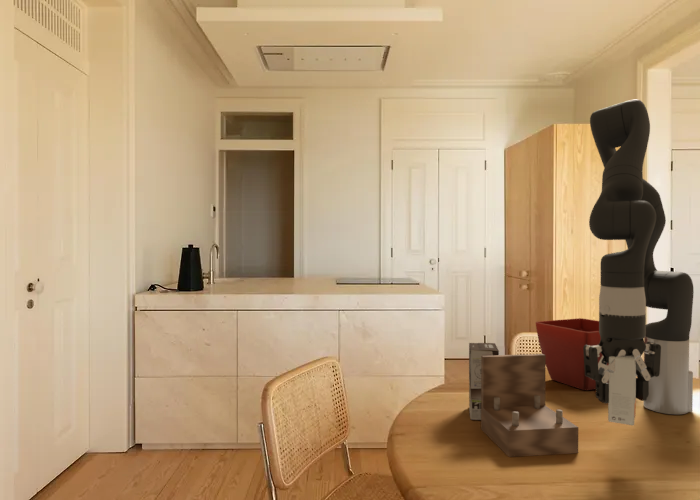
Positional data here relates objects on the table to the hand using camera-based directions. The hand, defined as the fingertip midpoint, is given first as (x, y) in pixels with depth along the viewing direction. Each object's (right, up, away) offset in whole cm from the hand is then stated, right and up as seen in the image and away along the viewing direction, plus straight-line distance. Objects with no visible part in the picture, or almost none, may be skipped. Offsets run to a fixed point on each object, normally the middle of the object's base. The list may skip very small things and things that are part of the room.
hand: (622, 400), depth 93 cm
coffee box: (-19, -11, +26) cm, 34 cm away
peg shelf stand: (-14, -11, +11) cm, 21 cm away
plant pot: (+17, -11, +52) cm, 55 cm away
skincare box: (0, -4, 0) cm, 4 cm away
